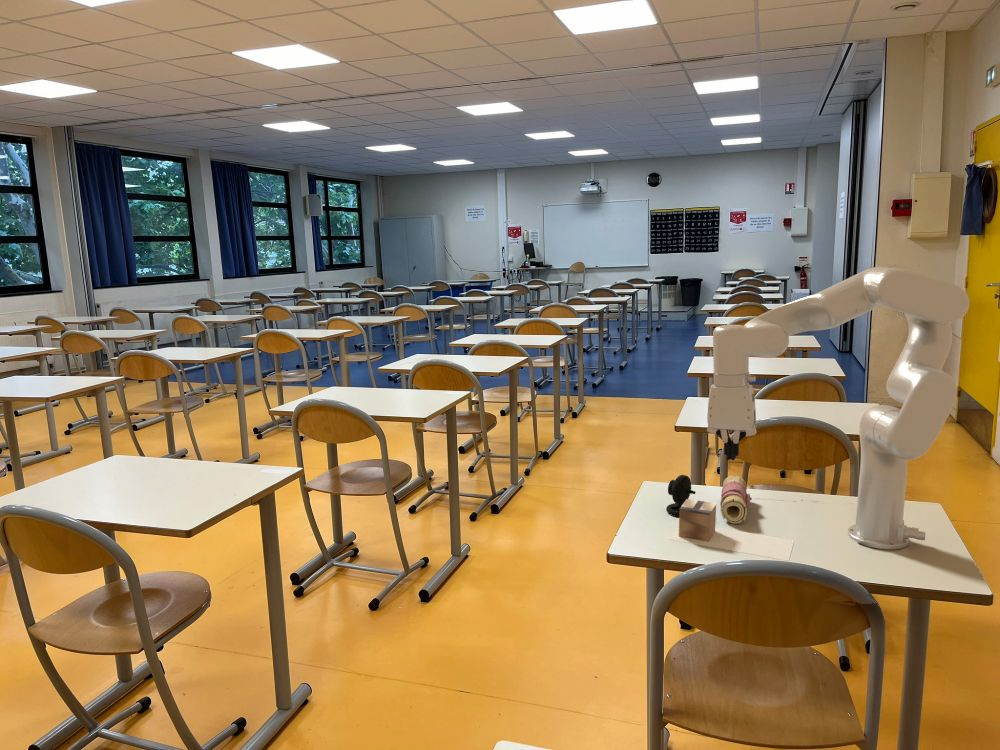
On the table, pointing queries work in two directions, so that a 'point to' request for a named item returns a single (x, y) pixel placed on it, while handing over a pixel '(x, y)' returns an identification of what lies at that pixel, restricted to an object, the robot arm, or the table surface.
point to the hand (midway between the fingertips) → (731, 458)
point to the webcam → (679, 493)
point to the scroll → (734, 499)
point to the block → (697, 520)
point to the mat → (744, 543)
